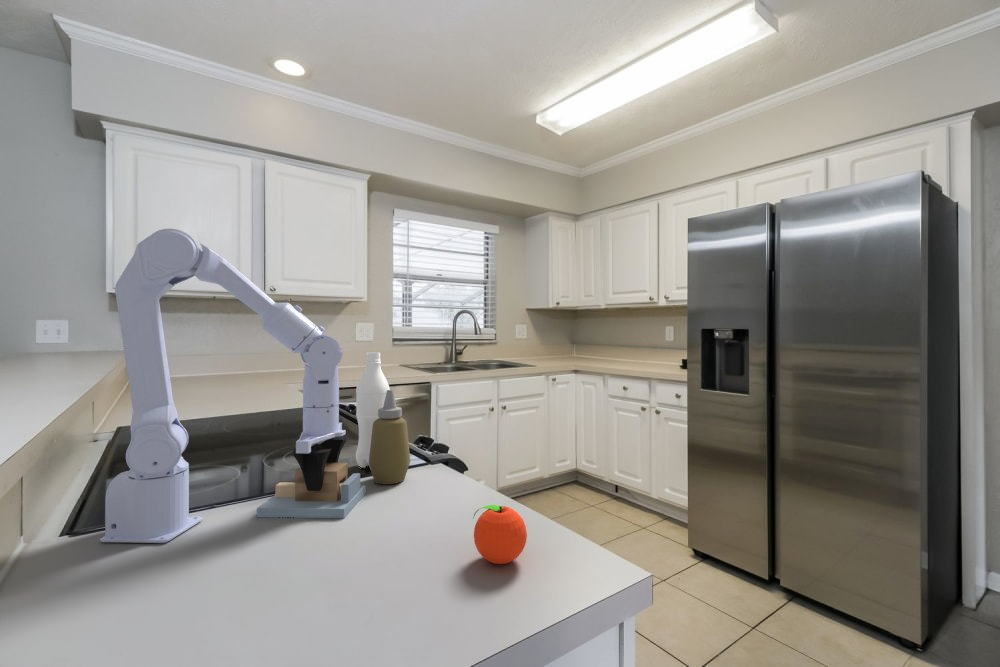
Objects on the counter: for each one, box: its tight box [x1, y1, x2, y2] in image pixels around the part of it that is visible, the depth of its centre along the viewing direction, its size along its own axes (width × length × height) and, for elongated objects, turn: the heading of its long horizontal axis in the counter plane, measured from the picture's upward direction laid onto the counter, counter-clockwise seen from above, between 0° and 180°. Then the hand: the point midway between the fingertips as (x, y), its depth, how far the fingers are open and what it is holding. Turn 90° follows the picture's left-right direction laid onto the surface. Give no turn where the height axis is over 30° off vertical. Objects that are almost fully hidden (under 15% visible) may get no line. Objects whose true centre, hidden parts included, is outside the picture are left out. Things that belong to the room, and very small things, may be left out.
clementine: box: [472, 504, 528, 565], centre depth 60 cm, size 8×7×7 cm
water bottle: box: [355, 351, 391, 468], centre depth 100 cm, size 7×7×25 cm
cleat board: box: [256, 472, 366, 519], centre depth 78 cm, size 14×11×4 cm
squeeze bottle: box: [368, 389, 411, 485], centre depth 91 cm, size 8×8×18 cm
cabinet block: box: [294, 462, 349, 502], centre depth 78 cm, size 7×5×6 cm
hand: (320, 484), depth 78 cm, fingers closed on cabinet block, 5 cm apart
